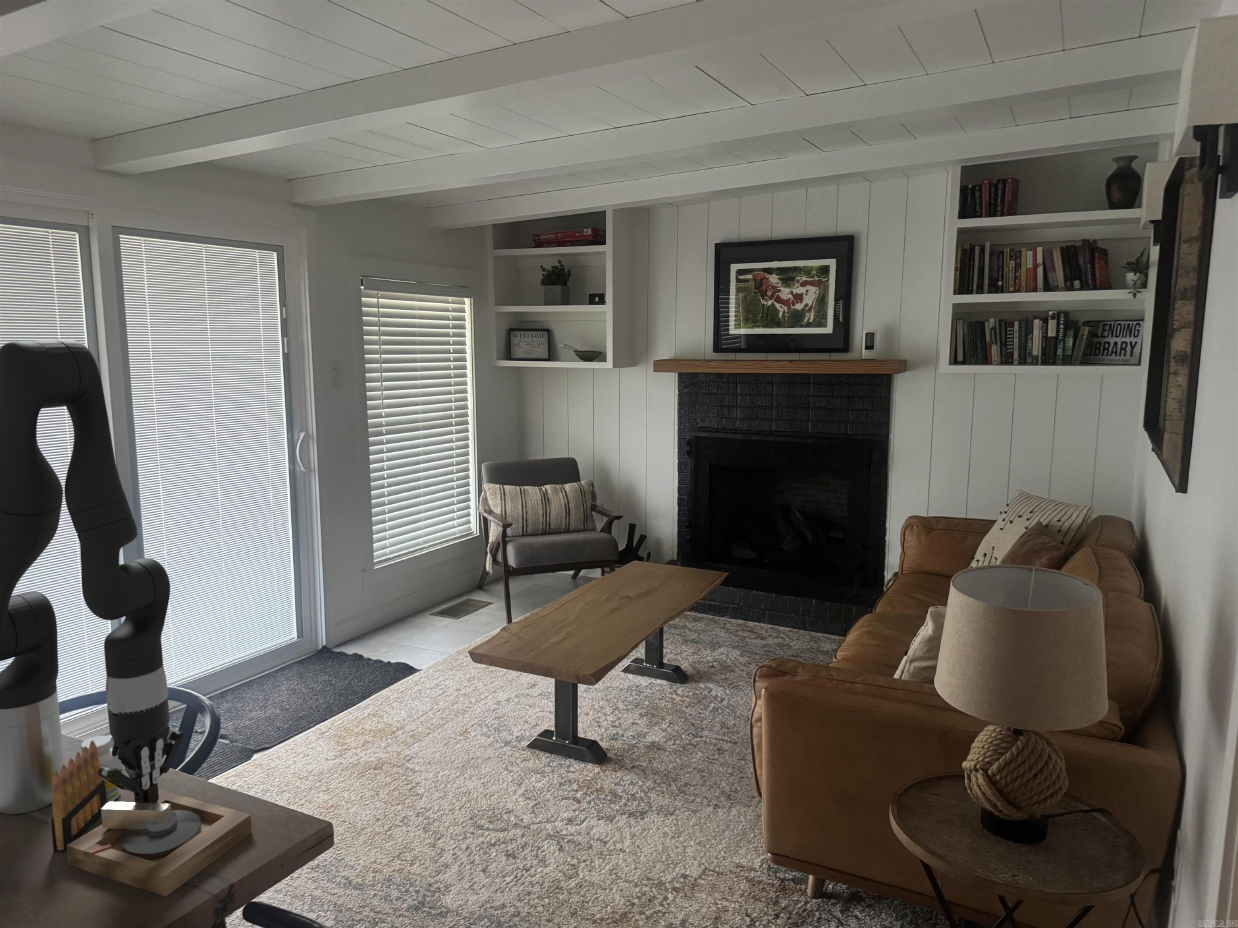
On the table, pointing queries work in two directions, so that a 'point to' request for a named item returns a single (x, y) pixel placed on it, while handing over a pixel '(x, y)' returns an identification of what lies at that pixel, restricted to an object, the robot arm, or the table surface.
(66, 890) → the table surface
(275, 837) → the table surface
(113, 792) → the supplement bottle
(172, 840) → the dial
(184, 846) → the wooden tray
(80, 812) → the ammunition clip
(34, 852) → the table surface
